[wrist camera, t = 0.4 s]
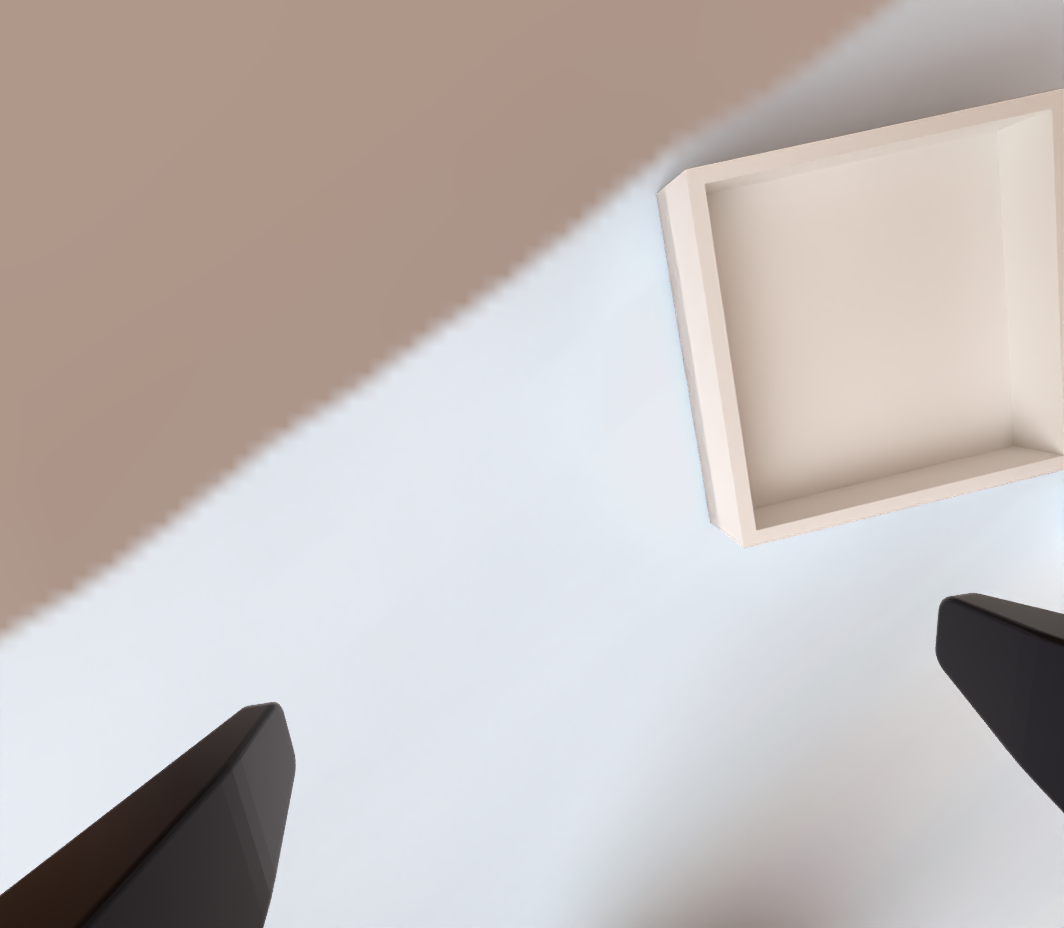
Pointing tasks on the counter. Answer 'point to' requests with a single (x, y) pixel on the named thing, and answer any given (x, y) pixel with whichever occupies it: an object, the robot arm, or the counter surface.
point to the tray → (873, 316)
